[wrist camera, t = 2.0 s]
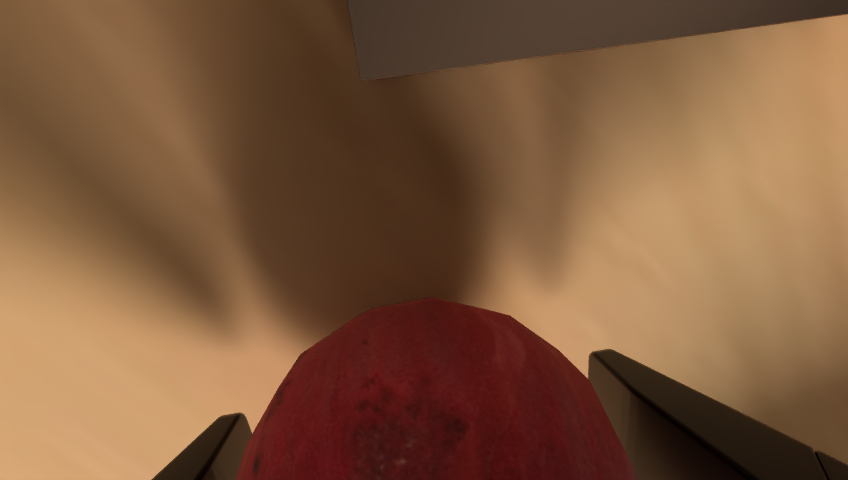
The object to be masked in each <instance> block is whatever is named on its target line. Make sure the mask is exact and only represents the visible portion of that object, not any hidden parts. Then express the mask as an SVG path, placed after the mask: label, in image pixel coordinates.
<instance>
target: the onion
mask: <svg viewBox="0 0 848 480" xmlns="http://www.w3.org/2000/svg"><path fill="white" fill-rule="evenodd" d="M236 480H638V477H637V473H636V471H635V469H634V467H633V465H632V463H631V461H630V460H629V458H628V456H627V454H626V452H625V450H624V448H623V446H622V444H621V442H620V440H619V438H618V436H617V434H616V432H615V430H614V428H613V426H612V424H611V422H610V420H609V418H608V416H607V414H606V412H605V410H604V408H603V406H602V404H601V402H600V400H599V398H598V396H597V394H596V392H595V390H594V388H593V386H592V384H591V382H590V380H589V379H587V378H586V377H585V376H584V375H583V374H582V373H581V372H580V371H579V370H578V369H577V368H576V367H575V366H574V365H573V364H572V363H571V362H570V361H569V360H568V359H567V358H566V357H565V356H564V355H563V354H562V353H561V352H560V351H559V350H558V349H556V348H555V347H553V346H552V345H551V344H549V343H548V342H546V341H545V340H544V339H542V338H541V337H539V336H538V335H537V334H535V333H534V332H532V331H531V330H529V329H528V328H527V327H525V326H524V325H522V324H521V323H520V322H518V321H517V320H515V319H514V318H512V317H511V316H510V315H506V314H502V313H498V312H494V311H490V310H486V309H482V308H477V307H473V306H468V305H464V304H459V303H455V302H451V301H446V300H442V299H437V298H433V297H430V298H425V299H419V300H414V301H409V302H403V303H398V304H393V305H388V306H382V307H377V308H372V309H370V310H368V311H366V312H364V313H362V314H360V315H358V316H357V317H356V318H354V319H353V320H351V321H350V322H348V323H347V324H345V325H344V326H342V327H341V328H339V329H338V330H336V331H335V332H333V333H332V334H330V335H329V336H327V337H326V338H324V339H323V340H321V341H320V342H318V343H317V344H315V345H314V346H312V347H311V348H309V349H308V350H306V351H305V352H303V353H302V354H300V356H299V357H298V359H297V360H296V362H295V363H294V365H293V366H292V368H291V370H290V371H289V373H288V374H287V376H286V377H285V379H284V380H283V382H282V383H281V385H280V386H279V388H278V389H277V391H276V393H275V395H274V397H273V398H272V400H271V402H270V404H269V405H268V407H267V409H266V411H265V413H264V414H263V416H262V418H261V420H260V421H259V423H258V425H257V427H256V428H255V430H254V432H253V434H252V436H251V437H250V439H249V441H248V443H247V445H246V448H245V451H244V454H243V458H242V461H241V464H240V467H239V470H238V474H237V477H236Z"/></svg>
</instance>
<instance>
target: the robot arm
mask: <svg viewBox="0 0 848 480" xmlns="http://www.w3.org/2000/svg"><path fill="white" fill-rule="evenodd" d="M588 379H589V380H590V382H591V384H592V386H593V388H594V390H595V392H596V394H597V396H598V398H599V400H600V402H601V404H602V406H603V408H604V410H605V412H606V414H607V416H608V418H609V420H610V422H611V424H612V426H613V428H614V430H615V432H616V434H617V436H618V438H619V440H620V442H621V444H622V446H623V448H624V450H625V452H626V454H627V456H628V458H629V460H630V461H631V463H632V465H633V467H634V469H635V471H636V473H637V477H638V480H848V465H847V464H845V463H843V462H841V461H839V460H837V459H835V458H833V457H831V456H829V455H827V454H825V453H823V452H821V451H814V450H813V448H812V447H810V446H808V445H806V444H804V443H802V442H800V441H798V440H796V439H794V438H792V437H790V436H788V435H786V434H784V433H782V432H779V431H777V430H775V429H773V428H771V427H769V426H767V425H765V424H763V423H761V422H759V421H757V420H755V419H753V418H751V417H749V416H747V415H745V414H743V413H741V412H739V411H737V410H735V409H733V408H730V407H728V406H726V405H724V404H722V403H720V402H718V401H716V400H714V399H712V398H710V397H708V396H706V395H704V394H702V393H700V392H698V391H696V390H694V389H692V388H690V387H688V386H686V385H684V384H682V383H679V382H677V381H675V380H673V379H671V378H669V377H667V376H665V375H663V374H661V373H659V372H657V371H655V370H653V369H651V368H649V367H647V366H645V365H643V364H641V363H639V362H637V361H635V360H633V359H630V358H628V357H626V356H624V355H622V354H620V353H618V352H616V351H614V350H612V349H605V350H599V351H593V352H592V353H591V354H590V355H589V370H588ZM251 436H252V432H251V429H250V427H249V424H248V421H247V419H246V417H245V415H244V414H243V413H234V414H228V415H223V416H221V417H219V418H218V419H217V420H215V421H214V422H213V423H212V424H211V425H210V426H209V427H208V428H207V429H206V430H205V431H204V432H203V433H201V434H200V435H199V436H198V437H197V438H196V439H195V440H194V441H193V442H192V443H191V444H190V445H188V446H187V447H186V448H185V449H184V450H183V451H182V452H181V453H180V454H179V455H178V456H177V457H176V458H174V459H173V460H172V461H171V462H170V463H169V464H168V465H167V466H166V467H165V468H164V469H163V470H161V471H160V472H159V473H158V474H157V475H156V476H155V477H154V478H153V479H152V480H236V477H237V474H238V470H239V467H240V464H241V461H242V458H243V454H244V451H245V448H246V445H247V443H248V441H249V439H250V437H251Z"/></svg>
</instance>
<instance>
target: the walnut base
mask: <svg viewBox="0 0 848 480" xmlns="http://www.w3.org/2000/svg"><path fill="white" fill-rule="evenodd" d="M347 3H348V9H349V15H350V20H351V26H352V32H353V38H354V44H355V49H356V55H357V61H358V67H359V73H360V79H361V81H363V80H375V79H382V78H389V77H397V76H404V75H411V74H418V73H426V72H433V71H440V70H447V69H455V68H462V67H469V66H476V65H484V64H491V63H498V62H505V61H513V60H520V59H527V58H534V57H542V56H549V55H556V54H563V53H571V52H578V51H585V50H592V49H600V48H607V47H614V46H621V45H629V44H636V43H643V42H650V41H658V40H665V39H672V38H679V37H687V36H694V35H701V34H708V33H716V32H723V31H730V30H737V29H745V28H752V27H759V26H766V25H774V24H781V23H788V22H795V21H803V20H810V19H817V18H824V17H832V16H839V15H846V14H848V0H347Z"/></svg>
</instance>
